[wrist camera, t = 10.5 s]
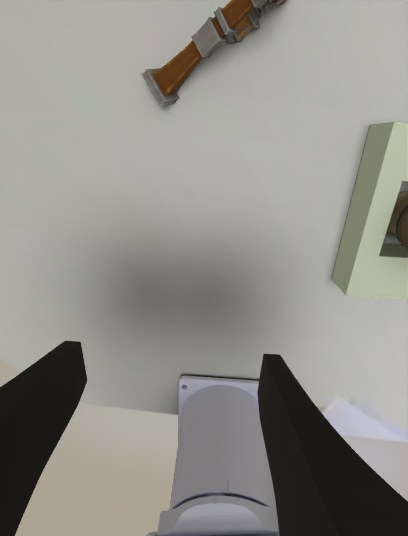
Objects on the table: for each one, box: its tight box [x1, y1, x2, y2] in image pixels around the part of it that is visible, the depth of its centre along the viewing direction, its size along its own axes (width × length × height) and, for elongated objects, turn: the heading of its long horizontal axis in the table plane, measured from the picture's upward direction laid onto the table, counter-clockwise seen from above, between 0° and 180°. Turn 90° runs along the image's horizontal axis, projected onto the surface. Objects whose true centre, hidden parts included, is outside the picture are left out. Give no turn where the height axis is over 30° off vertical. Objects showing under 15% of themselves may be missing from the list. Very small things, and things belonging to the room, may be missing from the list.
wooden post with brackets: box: [141, 0, 286, 107], centre depth 14 cm, size 2×8×4 cm, turn 122°
